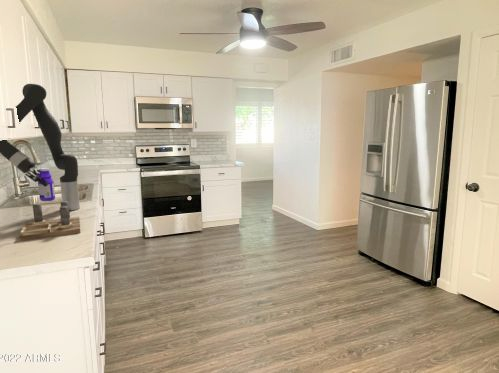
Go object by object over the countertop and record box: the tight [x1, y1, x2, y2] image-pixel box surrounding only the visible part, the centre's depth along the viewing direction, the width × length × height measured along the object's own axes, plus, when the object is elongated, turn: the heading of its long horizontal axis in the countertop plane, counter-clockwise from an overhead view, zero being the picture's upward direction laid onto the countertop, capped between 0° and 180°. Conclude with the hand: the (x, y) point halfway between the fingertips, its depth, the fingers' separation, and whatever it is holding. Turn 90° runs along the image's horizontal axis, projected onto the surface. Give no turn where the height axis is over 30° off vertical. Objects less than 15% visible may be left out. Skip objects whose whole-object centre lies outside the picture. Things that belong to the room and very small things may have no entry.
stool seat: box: [19, 201, 81, 241], centre depth 165 cm, size 24×24×12 cm
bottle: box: [37, 167, 56, 202], centre depth 178 cm, size 7×6×17 cm
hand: (49, 184), depth 179 cm, fingers closed on bottle, 5 cm apart
